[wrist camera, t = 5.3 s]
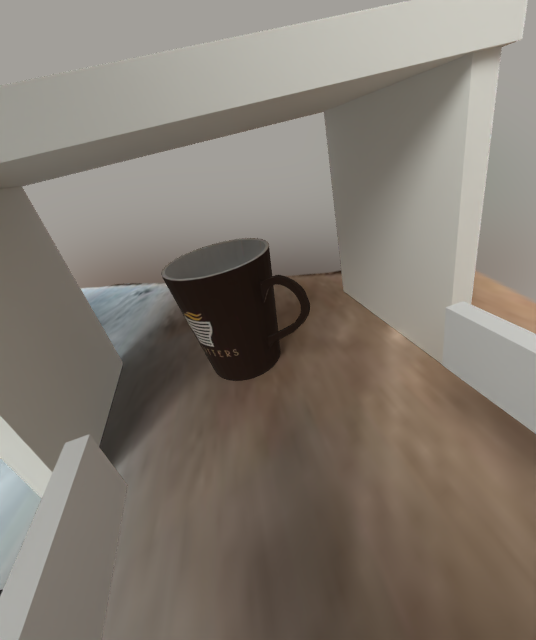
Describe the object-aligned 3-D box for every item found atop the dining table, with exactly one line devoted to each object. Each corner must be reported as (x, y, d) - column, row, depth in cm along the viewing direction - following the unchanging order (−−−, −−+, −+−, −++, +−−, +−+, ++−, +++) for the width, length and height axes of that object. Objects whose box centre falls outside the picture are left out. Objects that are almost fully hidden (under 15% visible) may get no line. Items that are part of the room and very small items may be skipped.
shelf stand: (476, 362, 22) (531, -25, 12) (46, 525, 18) (-353, 158, 9) (356, 284, 37) (339, 80, 27) (105, 366, 33) (-19, 164, 23)
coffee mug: (193, 355, 31) (154, 263, 26) (267, 322, 34) (244, 233, 29) (231, 431, 22) (180, 308, 17) (331, 377, 24) (312, 256, 19)
